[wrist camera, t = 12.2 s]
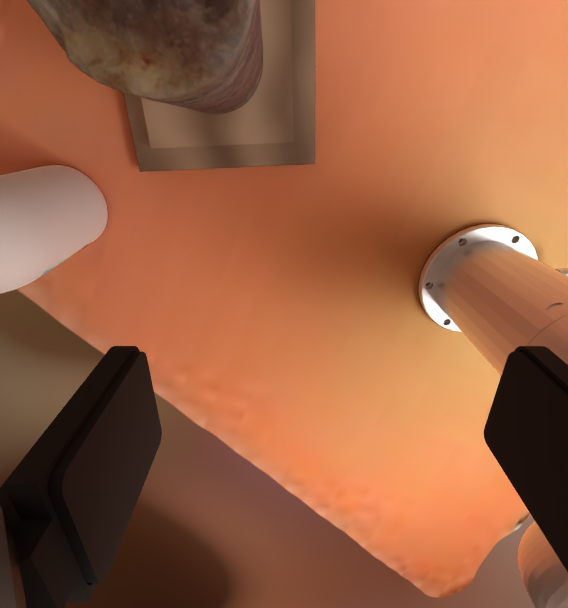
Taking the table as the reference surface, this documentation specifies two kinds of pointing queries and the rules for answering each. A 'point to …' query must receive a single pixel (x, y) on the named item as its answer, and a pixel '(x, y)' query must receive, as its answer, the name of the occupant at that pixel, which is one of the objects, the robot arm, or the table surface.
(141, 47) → the dark brown rough cylinder
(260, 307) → the table surface
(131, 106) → the plinth
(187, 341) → the table surface
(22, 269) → the milk bottle
